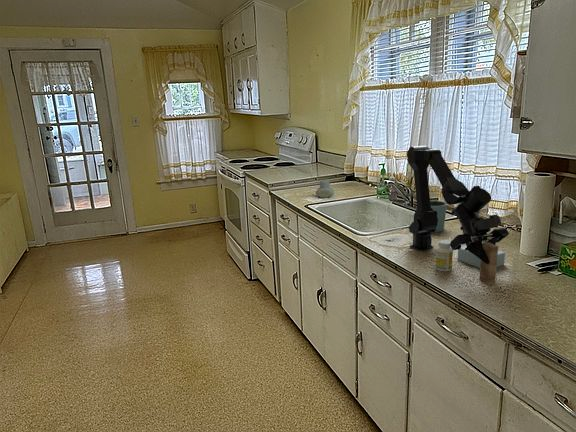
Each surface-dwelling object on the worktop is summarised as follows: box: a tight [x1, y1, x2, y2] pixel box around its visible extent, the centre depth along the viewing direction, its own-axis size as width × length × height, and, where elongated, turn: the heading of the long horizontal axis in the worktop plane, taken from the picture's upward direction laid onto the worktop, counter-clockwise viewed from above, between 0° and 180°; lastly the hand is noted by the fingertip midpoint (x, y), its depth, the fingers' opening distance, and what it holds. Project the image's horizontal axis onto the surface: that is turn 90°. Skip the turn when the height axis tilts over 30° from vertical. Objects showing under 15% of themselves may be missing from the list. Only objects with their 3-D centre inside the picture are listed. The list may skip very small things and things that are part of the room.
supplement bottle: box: [434, 239, 454, 272], centre depth 145 cm, size 5×5×10 cm
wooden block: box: [478, 242, 499, 285], centre depth 133 cm, size 4×2×12 cm, turn 18°
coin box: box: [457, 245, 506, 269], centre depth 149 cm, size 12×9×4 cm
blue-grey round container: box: [430, 199, 448, 233], centre depth 187 cm, size 10×10×12 cm
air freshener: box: [315, 179, 335, 199], centre depth 260 cm, size 11×8×10 cm
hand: (492, 262), depth 132 cm, fingers closed on wooden block, 2 cm apart
